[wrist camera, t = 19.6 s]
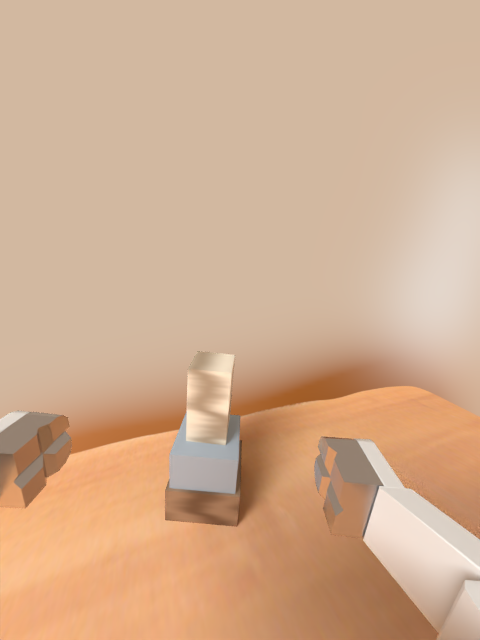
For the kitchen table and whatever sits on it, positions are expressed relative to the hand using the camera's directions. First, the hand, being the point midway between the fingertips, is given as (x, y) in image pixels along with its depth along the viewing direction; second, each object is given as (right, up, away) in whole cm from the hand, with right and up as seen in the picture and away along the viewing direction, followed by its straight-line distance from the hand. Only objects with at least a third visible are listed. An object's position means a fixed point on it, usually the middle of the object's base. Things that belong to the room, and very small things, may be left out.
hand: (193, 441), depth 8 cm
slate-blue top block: (-3, -16, +25) cm, 29 cm away
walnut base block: (-3, -21, +26) cm, 33 cm away
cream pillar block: (-3, -11, +24) cm, 26 cm away
